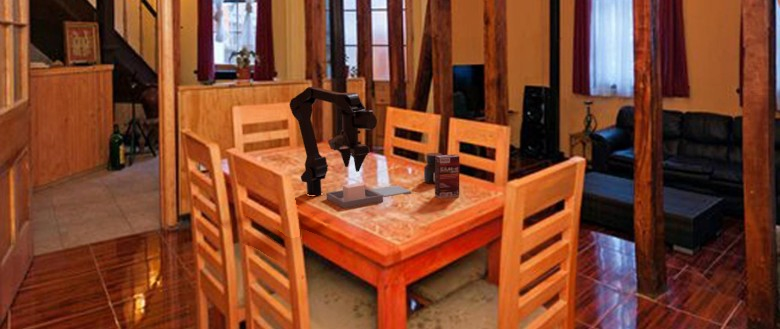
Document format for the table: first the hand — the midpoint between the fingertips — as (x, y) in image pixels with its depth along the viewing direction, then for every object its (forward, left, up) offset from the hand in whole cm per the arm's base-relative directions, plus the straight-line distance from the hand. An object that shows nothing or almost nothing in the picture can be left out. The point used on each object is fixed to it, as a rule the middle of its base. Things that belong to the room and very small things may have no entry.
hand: (351, 169), depth 206 cm
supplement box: (+13, +34, -13) cm, 39 cm away
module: (-1, +1, -12) cm, 12 cm away
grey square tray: (-1, +1, -13) cm, 13 cm away
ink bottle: (-9, +43, -13) cm, 46 cm away
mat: (-5, +19, -13) cm, 23 cm away
